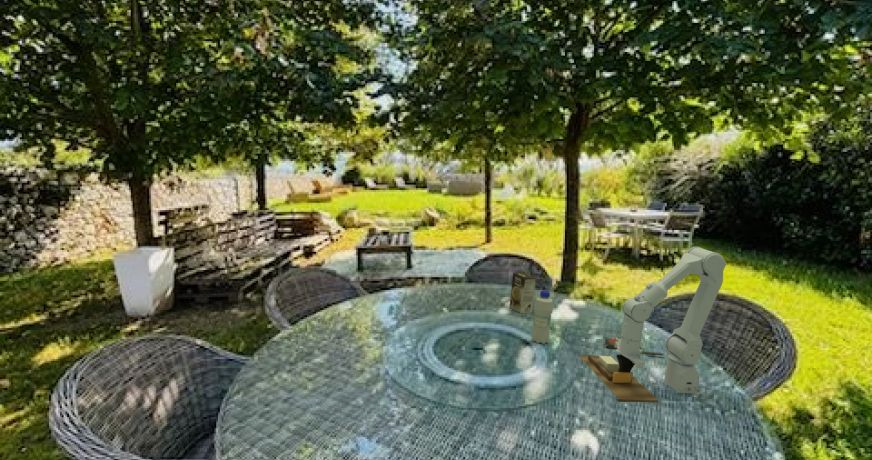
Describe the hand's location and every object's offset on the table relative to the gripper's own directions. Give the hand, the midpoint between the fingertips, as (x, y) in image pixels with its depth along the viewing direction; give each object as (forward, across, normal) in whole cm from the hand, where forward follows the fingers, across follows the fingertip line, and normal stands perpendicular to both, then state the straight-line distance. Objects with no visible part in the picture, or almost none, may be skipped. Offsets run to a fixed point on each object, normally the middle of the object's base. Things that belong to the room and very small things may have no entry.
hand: (624, 378), depth 151 cm
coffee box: (+4, -68, -14) cm, 70 cm away
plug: (+1, -9, -1) cm, 9 cm away
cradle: (+2, -4, -1) cm, 5 cm away
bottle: (+3, -31, -17) cm, 36 cm away
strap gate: (+1, +1, -1) cm, 1 cm away
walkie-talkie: (+3, -27, +16) cm, 32 cm away
